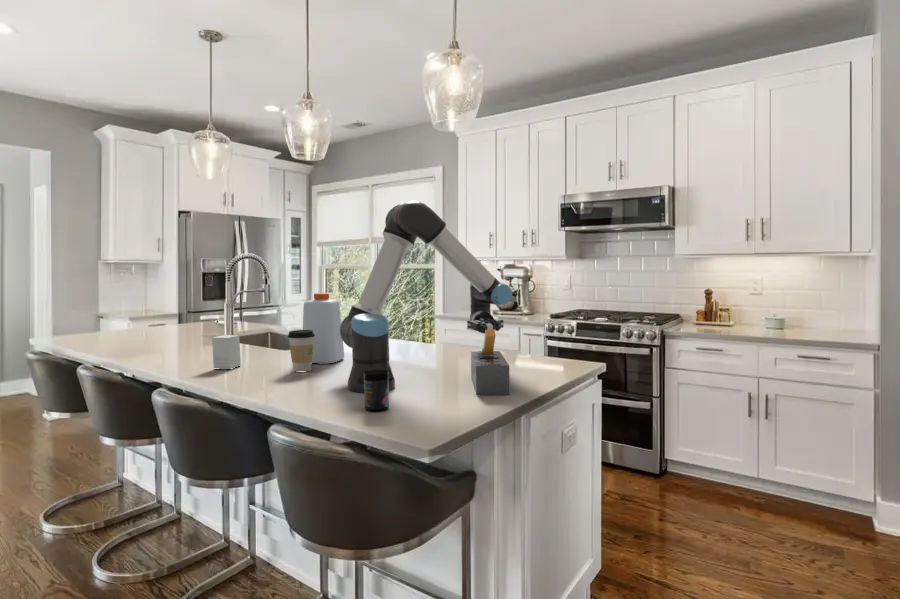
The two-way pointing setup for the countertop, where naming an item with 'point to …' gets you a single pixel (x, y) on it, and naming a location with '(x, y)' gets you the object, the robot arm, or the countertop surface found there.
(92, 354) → the countertop surface
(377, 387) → the supplement container
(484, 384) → the dark gray slotted block
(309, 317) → the plastic bottle
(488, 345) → the lever
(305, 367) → the coffee cup
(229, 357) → the supplement box
